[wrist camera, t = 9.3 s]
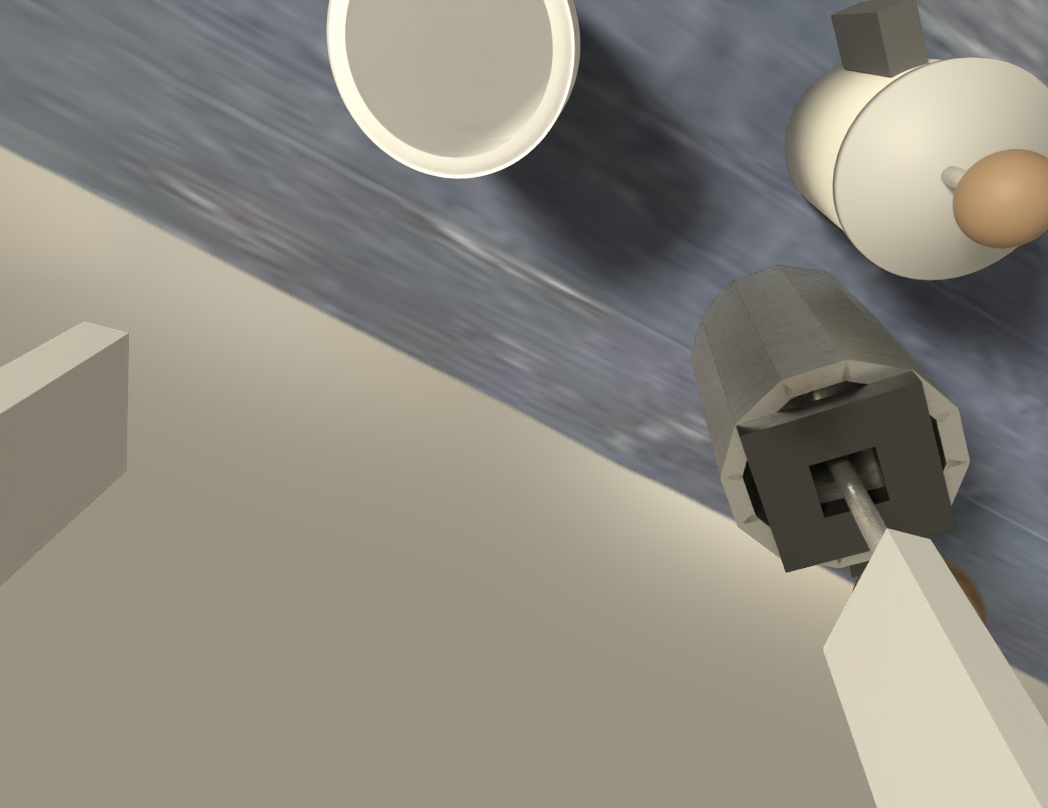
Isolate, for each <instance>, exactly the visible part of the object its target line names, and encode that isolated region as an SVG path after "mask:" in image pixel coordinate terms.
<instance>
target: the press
mask: <svg viewBox="0 0 1048 808" xmlns="http://www.w3.org/2000/svg"><path fill="white" fill-rule="evenodd" d="M691 361H692V365H693V369H694V373H695V377H696V381H697V385H698V389H699V393H700V397H701V401H702V406H703V410H704V414H705V418H706V422H707V426H708V430H709V434H710V438H711V442H712V446H713V450H714V454H715V459H716V463H717V467H718V471H719V475H720V479H721V482H722V484H723V487H724V490H725V493H726V495H727V498H728V501H729V504H730V507H731V509H732V512H733V515H734V518H735V520H736V523H737V526H738V527H739V528H740V529H742V530H743V531H744V532H746V533H747V534H748V535H750V536H751V537H752V538H754V539H755V540H756V541H758V542H759V543H760V544H762V545H763V546H764V547H766V548H767V549H769V550H770V551H771V552H773V553H774V554H775V555H776V556H778V557H779V558H781V560H782V563H783V566H784V569H785V572H791V571H795V570H798V569H802V568H806V567H810V566H814V565H822V566H828V567H834V568H842V567H846V566H847V567H848V569H849V571H850V573H851V576H852V577H855V576H859V575H860V574H861V573H862V571H863V570H864V569H865V568H866V566H867V565H868V563H869V561H870V559H871V557H872V553H871V551H870V549H869V547H868V545H867V543H866V541H865V539H864V537H863V535H862V533H861V531H860V529H859V527H858V525H857V523H856V521H855V519H854V517H853V515H852V513H851V511H850V509H849V507H848V505H847V503H846V501H845V499H844V497H843V495H842V493H841V491H840V489H839V487H838V485H837V483H836V481H835V479H834V477H833V475H832V473H831V471H830V469H829V467H828V465H827V463H826V461H827V460H831V459H834V458H838V457H841V456H845V455H847V456H848V458H849V460H850V462H851V464H852V465H853V467H854V469H855V471H856V473H857V474H858V476H859V478H860V480H861V482H862V483H863V485H864V487H865V489H866V491H867V492H868V494H869V496H870V498H871V500H872V501H873V503H874V505H875V507H876V509H877V510H878V512H879V514H880V516H881V518H882V519H883V521H884V523H885V525H886V527H887V528H888V529H892V530H896V531H900V532H904V533H908V534H912V535H915V536H919V537H926V536H930V535H934V534H938V533H942V532H945V531H949V530H953V529H957V528H956V523H955V519H954V515H953V511H952V507H951V506H952V504H953V501H954V499H955V497H956V494H957V492H958V490H959V487H960V485H961V483H962V480H963V478H964V476H965V473H966V471H967V469H968V466H969V464H970V459H969V454H968V450H967V445H966V441H965V436H964V432H963V427H962V422H961V418H960V413H959V409H958V407H957V406H956V405H955V404H954V403H953V402H952V401H951V400H950V399H949V398H948V397H947V395H946V394H945V393H944V392H943V391H942V390H941V389H940V388H939V387H938V386H937V385H936V384H935V382H934V381H933V380H932V379H931V378H930V377H929V376H928V375H927V374H926V373H925V372H924V370H923V369H922V368H921V367H920V366H919V365H918V364H917V363H916V362H915V361H914V360H913V359H912V357H911V356H910V355H909V354H908V353H907V352H906V351H905V350H904V349H903V348H902V347H901V345H900V344H899V343H898V342H897V341H896V340H895V339H894V338H893V337H892V336H891V335H890V333H889V332H888V331H887V330H886V329H885V328H884V327H883V326H882V325H881V324H880V323H879V322H878V320H877V319H876V318H875V317H874V316H873V315H872V314H871V313H870V312H869V311H868V310H867V308H866V307H865V306H864V305H863V304H862V303H861V302H860V301H859V300H858V299H857V298H856V297H855V296H853V295H852V294H851V293H850V292H849V291H848V290H846V289H845V288H844V287H843V286H842V285H841V284H839V283H838V282H837V281H836V280H835V279H833V278H832V277H831V276H830V275H829V274H828V273H826V272H824V271H818V270H811V269H804V268H798V267H791V266H785V265H776V266H773V267H770V268H767V269H765V270H762V271H759V272H756V273H753V274H750V275H748V276H745V277H742V278H739V279H736V280H734V281H733V282H731V283H730V284H729V285H728V286H727V287H726V288H725V289H724V290H723V291H722V293H721V294H720V295H719V296H718V297H717V298H716V299H715V300H714V301H713V302H712V303H711V304H710V305H709V306H708V307H707V309H706V310H705V311H704V312H703V313H702V314H701V315H700V319H699V323H698V327H697V331H696V336H695V340H694V344H693V348H692V352H691ZM843 381H851V382H857V383H864V384H867V385H864V386H860V387H857V388H854V389H851V390H848V391H844V392H841V393H838V394H835V395H831V396H828V397H825V398H822V399H818V400H815V401H812V402H809V403H805V404H802V405H799V406H796V407H792V408H789V409H786V410H783V411H779V410H780V409H781V408H782V407H783V406H784V405H785V404H786V403H787V402H788V401H789V400H790V399H791V398H792V397H795V396H798V395H802V394H805V393H808V392H811V391H814V390H818V389H821V388H824V387H827V386H830V385H834V384H837V383H840V382H843ZM777 411H779V412H777Z"/></svg>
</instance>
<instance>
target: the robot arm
mask: <svg viewBox="0 0 1048 808" xmlns="http://www.w3.org/2000/svg"><path fill="white" fill-rule="evenodd" d="M128 352H129V333H127V332H123V331H119V330H115V329H111V328H107V327H104V326H99V325H96V324H92V323H88V322H82V323H80V324H79V325H77V326H75V327H73V328H71V329H69V330H68V331H66V332H64V333H62V334H60V335H59V336H57V337H55V338H53V339H52V340H50V341H48V342H46V343H44V344H42V345H41V346H39V347H37V348H35V349H33V350H32V351H30V352H28V353H26V354H24V355H23V356H21V357H19V358H17V359H16V360H14V361H12V362H10V363H8V364H6V365H4V366H3V367H1V368H0V586H1V585H2V584H3V583H4V582H5V581H6V580H7V579H8V578H10V577H11V576H12V575H13V574H14V573H15V572H16V571H17V570H18V569H20V568H21V567H22V566H23V565H24V564H25V563H26V562H27V561H28V560H29V559H31V557H33V556H34V555H35V554H36V553H37V552H38V551H39V550H40V549H42V548H43V546H45V545H46V544H47V543H48V542H49V541H50V540H51V539H52V538H53V537H55V536H56V535H57V534H58V533H59V532H60V531H61V530H62V529H63V528H65V527H66V526H67V525H68V524H69V523H70V522H71V521H72V520H73V519H74V518H76V517H77V516H78V515H79V514H80V513H81V512H82V511H83V510H84V509H85V508H86V507H87V506H89V505H90V504H91V503H92V502H93V501H94V500H95V499H96V498H97V497H99V496H100V495H101V494H102V493H103V492H104V491H105V490H106V489H107V488H108V487H110V486H111V485H112V484H113V483H114V482H115V481H116V480H117V479H118V478H119V477H120V476H122V475H123V474H124V473H125V472H126V468H127V410H128V409H127V408H128ZM823 651H824V654H825V657H826V660H827V662H828V665H829V668H830V671H831V674H832V677H833V680H834V683H835V686H836V689H837V692H838V695H839V698H840V701H841V703H842V706H843V709H844V712H845V715H846V718H847V721H848V724H849V727H850V730H851V732H852V736H853V739H854V742H855V744H856V747H857V750H858V753H859V756H860V759H861V762H862V765H863V768H864V771H865V773H866V777H867V779H868V782H869V785H870V788H871V791H872V794H873V797H874V800H875V802H876V806H877V808H1048V726H1047V724H1046V722H1045V721H1044V719H1043V718H1042V716H1041V715H1040V713H1039V711H1038V710H1037V708H1036V706H1035V705H1034V703H1033V702H1032V700H1031V699H1030V697H1029V695H1028V694H1027V692H1026V691H1025V689H1024V688H1023V686H1022V684H1021V683H1020V681H1019V679H1018V678H1017V676H1016V675H1015V673H1014V671H1013V670H1012V668H1011V667H1010V665H1009V664H1008V662H1007V660H1006V659H1005V657H1004V656H1003V654H1002V652H1001V651H1000V649H999V648H998V646H997V644H996V643H995V641H994V640H993V638H992V636H991V635H990V633H989V632H988V630H987V628H986V627H985V625H984V624H983V622H982V621H981V619H980V617H979V616H978V614H977V613H976V611H975V609H974V608H973V606H972V605H971V603H970V601H969V600H968V598H967V597H966V595H965V593H964V592H963V590H962V589H961V587H960V586H959V584H958V582H957V581H956V579H955V578H954V576H953V574H952V573H951V571H950V570H949V568H948V566H947V565H946V563H945V562H944V560H943V558H942V557H941V555H940V554H939V552H938V550H937V549H936V547H935V546H934V544H933V543H932V541H931V539H927V538H923V537H919V536H915V535H912V534H908V533H904V532H900V531H896V530H892V529H888V528H887V529H886V531H885V533H884V534H883V536H882V538H881V540H880V542H879V544H878V546H877V548H876V549H875V551H874V553H873V555H872V557H871V559H870V561H869V563H868V565H867V566H866V568H865V570H864V572H863V574H862V576H861V578H860V580H859V581H858V583H857V585H856V587H855V589H854V591H853V593H852V595H851V597H850V598H849V600H848V602H847V604H846V606H845V608H844V610H843V612H842V614H841V616H840V617H839V619H838V621H837V623H836V625H835V627H834V628H833V631H832V632H831V634H830V636H829V638H828V640H827V642H826V644H825V645H824V648H823Z"/></svg>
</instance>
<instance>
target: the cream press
mask: <svg viewBox="0 0 1048 808" xmlns="http://www.w3.org/2000/svg"><path fill="white" fill-rule="evenodd" d="M831 18H832V22H833V26H834V30H835V35H836V39H837V43H838V47H839V51H840V56H841V60H842V63H841V64H839V65H837V66H835V67H834V68H832V69H831V70H829V71H827V72H826V73H825V74H823V75H822V76H821V77H820V78H819V79H817V80H816V81H815V82H814V83H813V84H812V85H811V86H810V87H809V89H808V90H807V91H806V92H805V94H804V95H803V96H802V98H801V99H800V101H799V103H798V104H797V106H796V108H795V110H794V112H793V114H792V116H791V119H790V122H789V125H788V129H787V134H786V141H785V156H786V163H787V168H788V171H789V174H790V176H791V179H792V181H793V182H794V184H795V186H796V187H797V189H798V190H799V192H800V193H801V194H802V195H803V196H804V197H805V198H806V199H807V200H808V201H809V202H810V203H811V204H813V205H814V206H815V207H816V208H817V209H818V210H820V211H821V212H822V213H823V214H824V215H825V216H826V217H828V218H829V219H830V220H831V221H832V222H833V223H835V224H836V225H837V226H838V227H839V228H840V229H842V230H843V231H844V232H845V234H846V236H847V237H848V238H849V240H850V241H851V242H852V244H853V245H854V246H855V247H856V248H857V249H858V250H859V251H860V252H861V253H862V254H863V255H864V256H866V257H867V258H868V259H869V260H871V261H872V262H873V263H875V264H876V265H877V266H879V267H881V268H883V269H885V270H887V271H888V272H891V273H894V274H897V275H899V276H903V277H907V278H912V279H920V280H943V279H949V278H956V277H959V276H963V275H967V274H970V273H973V272H976V271H978V270H981V269H983V268H985V267H987V266H989V265H991V264H993V263H995V262H997V261H999V260H1000V259H1002V258H1003V257H1005V256H1006V255H1008V254H1009V253H1011V252H1012V251H1013V250H1014V249H1016V248H1017V247H1018V246H1021V245H1024V244H1027V243H1029V242H1031V241H1033V240H1035V239H1037V238H1038V237H1040V236H1041V235H1043V234H1044V233H1045V232H1046V231H1047V230H1048V89H1047V87H1046V86H1045V85H1044V84H1043V83H1042V82H1041V81H1040V80H1038V79H1037V78H1036V77H1035V76H1033V75H1032V74H1031V73H1029V72H1027V71H1025V70H1024V69H1022V68H1020V67H1018V66H1015V65H1013V64H1010V63H1007V62H1003V61H999V60H994V59H986V58H972V57H961V58H949V59H944V60H938V59H928V58H927V53H926V48H925V43H924V38H923V33H922V28H921V23H920V18H919V13H918V8H917V3H916V0H877V1H868V2H861V3H859V4H856V5H854V6H852V7H849V8H847V9H845V10H842V11H840V12H838V13H835V14H833V15H831Z"/></svg>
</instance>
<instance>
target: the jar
mask: <svg viewBox="0 0 1048 808" xmlns="http://www.w3.org/2000/svg"><path fill="white" fill-rule="evenodd" d="M327 46H328V54H329V60H330V65H331V69H332V73H333V76H334V79H335V82H336V85H337V88H338V90H339V92H340V95H341V97H342V99H343V101H344V103H345V105H346V107H347V109H348V110H349V112H350V114H351V115H352V117H353V118H354V120H355V121H356V123H357V124H358V125H359V127H360V128H361V129H362V130H363V131H364V133H365V134H366V135H367V136H368V137H369V138H370V139H371V140H372V141H373V142H374V143H375V144H376V145H377V146H378V147H379V148H381V149H382V150H383V151H384V152H386V153H387V154H388V155H390V156H391V157H393V158H394V159H396V160H397V161H399V162H401V163H403V164H404V165H406V166H408V167H410V168H413V169H415V170H418V171H420V172H423V173H426V174H430V175H434V176H439V177H446V178H472V177H478V176H483V175H487V174H491V173H494V172H497V171H499V170H502V169H504V168H506V167H508V166H510V165H512V164H513V163H515V162H517V161H518V160H520V159H521V158H523V157H524V156H525V155H527V154H528V153H529V152H530V151H531V150H532V149H534V148H535V147H536V146H537V145H538V144H539V143H540V141H541V140H542V139H543V138H544V137H545V136H546V134H547V133H548V132H549V130H550V129H551V127H552V126H553V124H554V123H555V121H556V119H557V118H558V116H559V115H560V113H561V112H562V110H563V108H564V107H565V105H566V103H567V101H568V99H569V97H570V94H571V92H572V89H573V86H574V83H575V80H576V76H577V72H578V66H579V59H580V30H579V23H578V17H577V13H576V9H575V5H574V2H573V0H330V1H329V7H328V15H327Z"/></svg>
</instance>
